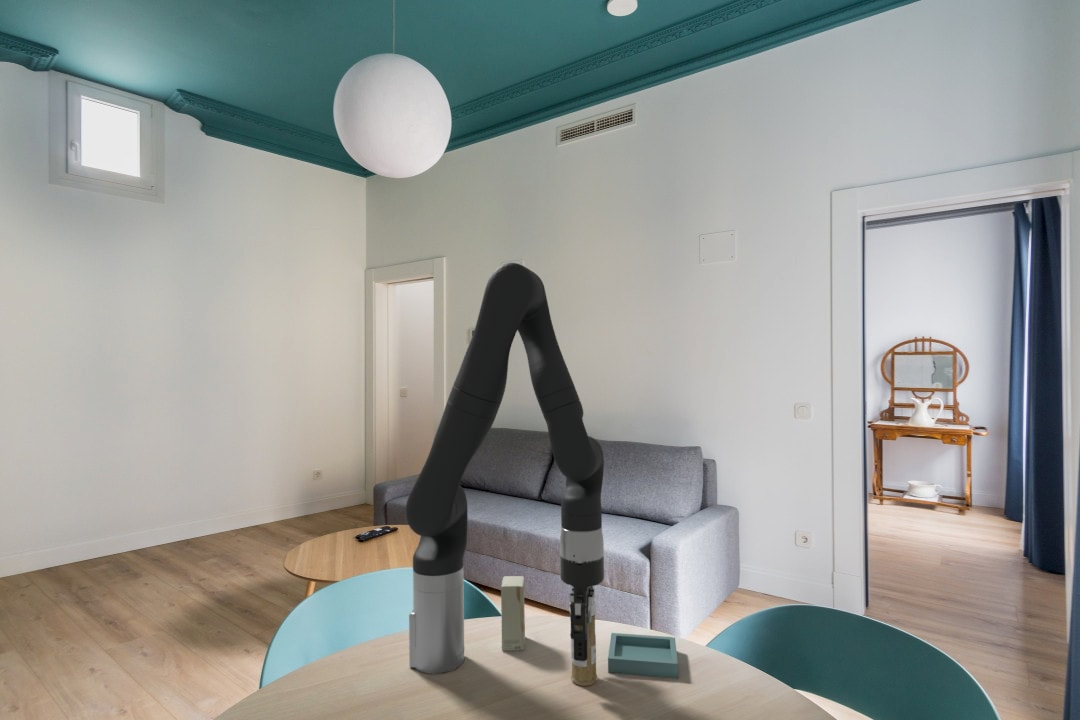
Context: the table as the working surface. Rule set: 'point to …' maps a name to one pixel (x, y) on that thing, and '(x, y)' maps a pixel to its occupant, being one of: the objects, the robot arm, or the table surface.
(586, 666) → the sprinkles bottle
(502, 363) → the robot arm
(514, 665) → the table surface
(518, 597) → the skincare box
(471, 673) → the table surface
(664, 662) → the tray
